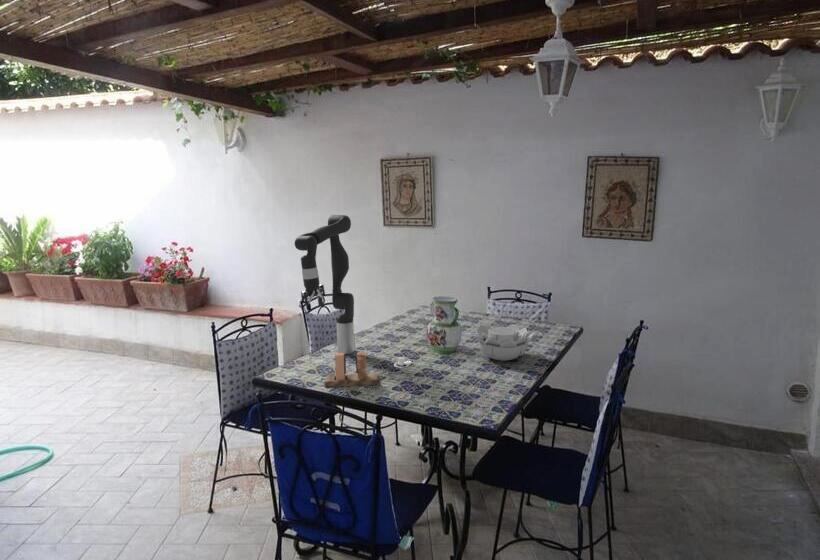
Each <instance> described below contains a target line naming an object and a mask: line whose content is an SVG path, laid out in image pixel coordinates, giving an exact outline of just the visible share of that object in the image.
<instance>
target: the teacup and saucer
mask: <svg viewBox="0 0 820 560" xmlns="http://www.w3.org/2000/svg"><path fill="white" fill-rule="evenodd" d="M395 361H396V362H395V363H394V364H393V366H394V367H396V368H398V369H399V368H403V369H404V368H407V367H410V365H411V364H412V362H413V361H411V360H406V361H405V357H403V356H399V357H398V358H397V359H395ZM397 364H398V365H399V366H398V365H397ZM404 365H405V366H404Z"/></svg>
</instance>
